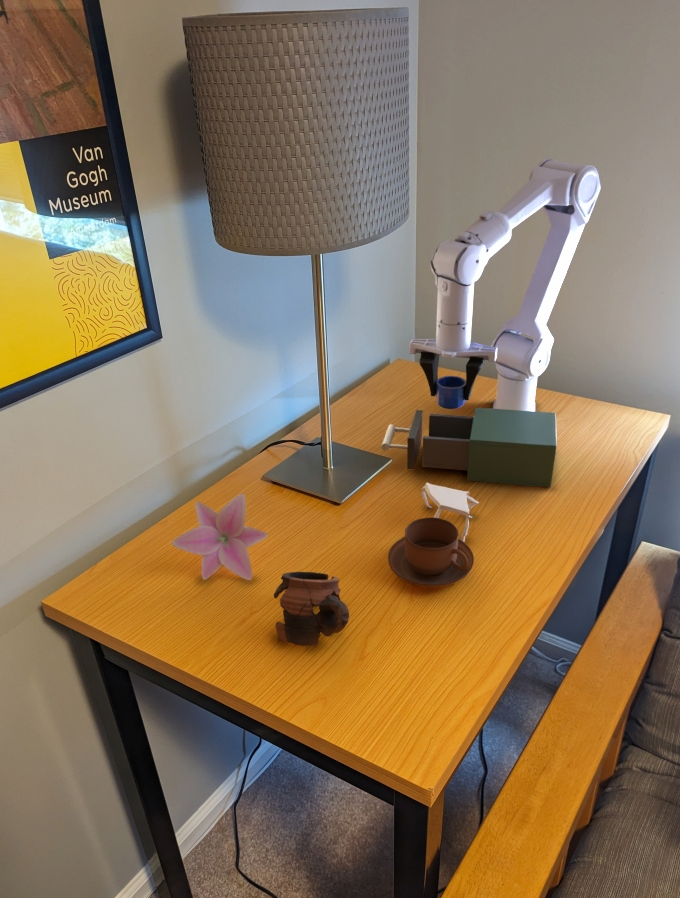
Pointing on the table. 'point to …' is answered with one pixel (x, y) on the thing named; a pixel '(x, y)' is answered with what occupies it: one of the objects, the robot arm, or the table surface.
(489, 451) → the sage green box
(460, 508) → the origami figure
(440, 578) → the cup and saucer
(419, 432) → the drawer
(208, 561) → the lily
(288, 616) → the pottery mug
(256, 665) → the table surface
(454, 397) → the blue cup
